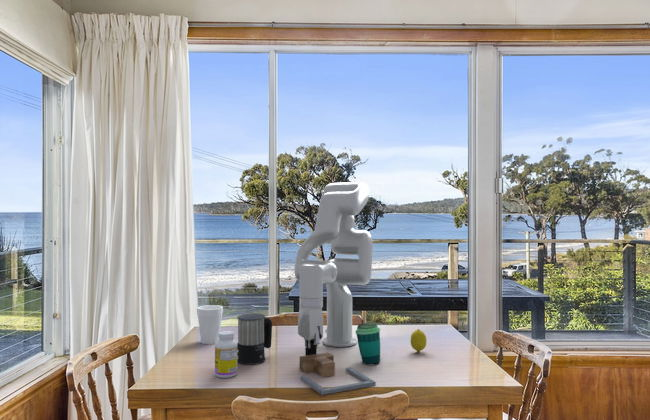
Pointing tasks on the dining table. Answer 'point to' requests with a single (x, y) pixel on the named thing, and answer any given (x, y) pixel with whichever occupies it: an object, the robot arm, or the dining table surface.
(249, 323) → the milk frother
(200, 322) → the foam cup
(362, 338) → the cup
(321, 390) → the grey u-shaped bar
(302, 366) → the t block
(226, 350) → the supplement bottle
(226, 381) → the dining table surface
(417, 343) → the lemon
